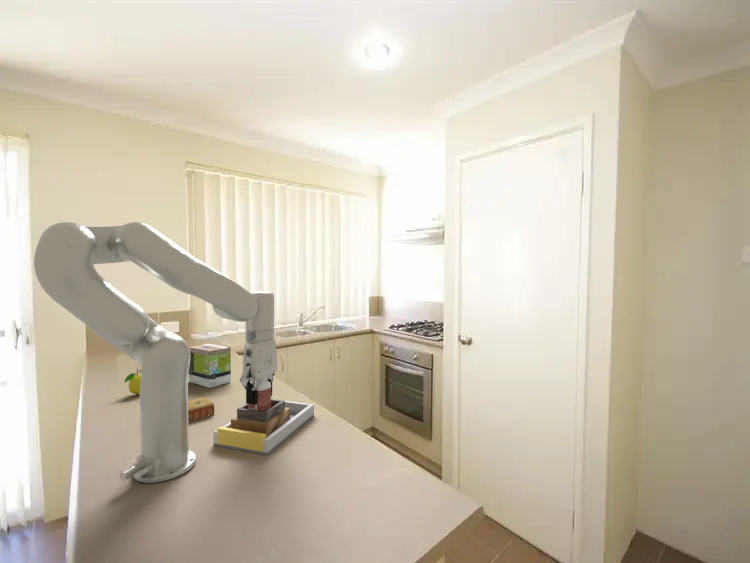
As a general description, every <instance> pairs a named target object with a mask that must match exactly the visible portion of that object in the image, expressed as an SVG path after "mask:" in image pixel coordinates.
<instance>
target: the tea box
mask: <svg viewBox="0 0 750 563" xmlns="http://www.w3.org/2000/svg"><path fill="white" fill-rule="evenodd" d="M188 347H189V350H190V366H189V374H188V383H192V384H194V385H198V386H202V387H205V388H208V389H211V388H216V387H219V386H222V384H223V385H226V384H229V383H231V382H232V371H231V369H232V366H231V365H232V361H231V359H232V358H231V356H232V354H231V352H232V351H231V346H226V345H220V344H214V343H204V344H201V345H195V346H194V345H193V346H188Z"/></svg>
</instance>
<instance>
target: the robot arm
mask: <svg viewBox="0 0 750 563" xmlns="http://www.w3.org/2000/svg"><path fill="white" fill-rule="evenodd" d="M33 257H34V259H33V268H34V272H35V276H36V278H37V282H38V283H39V285H40V286H41V288H42V289H43V291H44V292H45V293H46V294H47V296H49V297H50V298H51V299H52V300H53V301H54V302H55V303H57V304H58V305H59V306H61V307H62V308H64V309H65V310H66V311H67V312H68V313H70V314H71V315H73V316H74V317H75V318H76V319H78V320H79V321H81V322H82V323H84V324H85V325H86V326H88V327H89V328H90V329H91V330H92V331H93V332H94V333H95V334H96V335H97V336H98V337H99V338H101V340H104V341H105V342H107V343H108V344H110V345H112V346H113V347H114V348H116V349H117V350H119V351H120V352H122V353H124V354H125V355H126V356H127V357H129V358H130V359H133V361H135V362H136V363H138V364H139V365H140V366H141V373H140V375H141V384H140V394H139V407H140V408H139V409H140V411H139V412H140V417H139V418H140V455H138V456H136V462H135V463H133V464H132V466H130V467H128V468H127V469H125V470H123V471H120V473H119V479H120V480H121V481H123V482H125V481H126V480H128V479H130V478H132V477H133V479H134V480H135V481H137V482H140V483H147V484H148V483H149V484H151V483H152V484H153V483H160V482H161V483H162V482H165V481H170V480H172V479H174V478H177V477H180V476H181V475H183V474H185V473H186V472H188V471H190V470H192V468H193V467H194V466H195V464H196V462H197V454H196V453H195V452H194V451H192V450H190V449H189V448H190V447H189V445H190V444H189V442H190V441H189V422H188V401H189V389H188V388H189V377H188V374H189V366H190V350H189V347H190V346H189V345H188V343H187V341H186V340H185V339H184V338H183V337H182V336H181V335H179V334H176V333H175V332H172V331H169V330H167V329H166V328H164V327H163V326H161V325H160V324H158V322H156V321H155V320H154V319H152V318H151V317H150V316H149V315H148V314H147V312H146V310H145V309H144V308H143V307H141V306H140V305H139V304H137V303H136V302H134V301H132V299H129V298H128V297H127V296H126V295H124V294H123V293H121V291H119V290H118V289H116V288H115V287H114V286H113V285H112V284H111V283H110V282H108V281H107V280H106V279H105V278H104V277H103V276H101V274H99V273H98V271H97V269H96V268H95V265H105V264H115V263H116V264H117V263H126V262H128V263H129V262H131V263H133V264H134V265H136V266H138V267H139V268H141V269H142V270H145V271H146V272H148V273H149V274H151V275H152V276H154V277H155V278H157V279H159V280H160V281H162V282H163V283H165V284H167V285H168V286H169V287H171V288H173V289H175V290H177V291H178V292H181V293H183V294H187V295H190V296H193V297H195V298H198V299H199V300H202V301H204V302H205V303H208V304H209V305H212V309H213V311H214V313H215V314H216V316H219V317H220V318H222V319H226V320H229V321H233V322H239V323H245V342H244V348H243V358H242V374H241V376H240V377H239V383H240V384H241V385H242V387H244V390H245V404H251V405H256V404H257V390H256V386H257V382H258V380H261V379H263V378H265V377H267V376H268V380H267V381H269V382H270V383H271V397H272V396H273V381H274V376H275V374H276V372H277V371H278V353H277V352H278V351H277V343H276V339H275V295H274V293H273V292H272V291H269V290H267V291H266V290H258V291H257V290H254V291H253V290H252V291H249V290H247V289H246V288H244V287H243V286H242V285H241V284H239V283H238V282H235V281H234V280H233V279H232V278H230V277H228V276H227V275H225V274H223V273H221V272H220V271H218V270H217V269H215V268H213V267H211V266H210V265H208V264H206V263H204V262H203V261H201V260H200V259H198V258H196V257H194V256H193V255H191V253H189V252H188V251H187V250H185V249H183V248H182V247H180V246H179V245H178V244H176V243H175V242H173V241H172V240H171V239H170V238H168V237H166V236H165V235H164V234H162V233H161V232H159V231H158V230H156V229H155V228H153V227H152V226H150V225H149V224H147V223H143V222H140V221H132V222H128V223H125V224H123V225H114V226H84V225H82V224H79V223H76V222H69V221H68V222H67V221H65V222H58V223H54V224H51V225H50V226H49V227H48V228H46V229H45V230H44V231H42V234H41V236H40V237H39V239H38V243H37V246H36V249H35V252H34V256H33ZM251 376H252V377H253V378H251ZM251 380H253V385H252V384H251V382H252V381H251Z"/></svg>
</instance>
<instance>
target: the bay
mask: <svg viewBox="0 0 750 563" xmlns="http://www.w3.org/2000/svg"><path fill="white" fill-rule="evenodd" d="M275 400H277V399H275ZM284 401H285V407H287V408H290V420H289V421H288V422H286V423H285V424H284V425H282V426H281V427H280V428H278V429H277V430H276V431H274V432H273V433H272V434H271V435H269V436H268V437H267V438H266V434H262V433H256V432H250V431H244V430H238V429H232V428H231V421H229V422H227V423H226V424H224V425H223V426H219V427H217V428H216V430H214V431H213V446H216V445H217V447H221V446H222V448H227V447H228V448H227V449H233V450H237V449H238V450H237V451H245V452H248V453H253V454H254V453H255V454H260V455H265V456H268V455H270V453H272V452H273V451H274V450H276V448H278V447H279V446H280V445H281V444H282V443H283V442H285V441H286V440H288V438H289V437H291V436H292V435H293V434H294V433H295V432H297V431H298V430H299V429H300V428H301V427H302V426H304V425H305V424H306V423H307V422H308V421H310V420H311V419H312V418H313V417H314V416H315V404H312V403H307V402H305V403H304V402H299V401H298V402H297V401H290V400H284Z"/></svg>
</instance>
